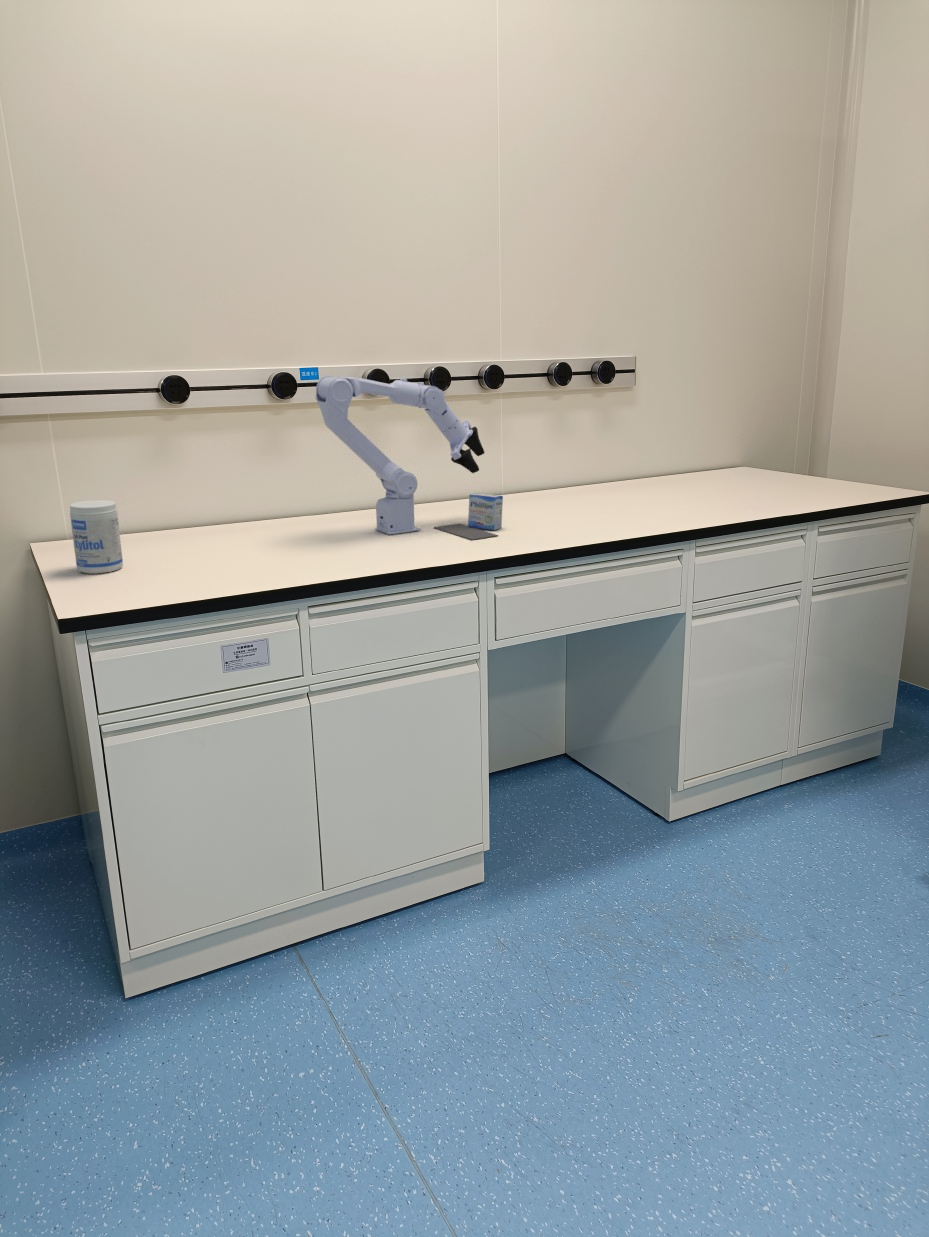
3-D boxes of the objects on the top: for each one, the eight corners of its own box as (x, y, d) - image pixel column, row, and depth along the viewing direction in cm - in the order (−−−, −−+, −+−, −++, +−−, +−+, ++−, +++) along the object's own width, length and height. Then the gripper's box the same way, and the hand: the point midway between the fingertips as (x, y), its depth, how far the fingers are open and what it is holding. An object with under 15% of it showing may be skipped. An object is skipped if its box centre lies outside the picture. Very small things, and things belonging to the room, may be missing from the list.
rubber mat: (471, 540, 221) (471, 539, 221) (433, 528, 235) (433, 527, 235) (498, 536, 225) (498, 535, 225) (459, 524, 239) (459, 523, 239)
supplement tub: (73, 576, 192) (63, 508, 188) (82, 565, 201) (72, 500, 197) (120, 573, 194) (111, 506, 190) (127, 562, 203) (119, 498, 198)
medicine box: (467, 527, 234) (468, 494, 232) (475, 524, 238) (476, 492, 236) (494, 530, 231) (495, 497, 228) (502, 528, 235) (503, 495, 232)
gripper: (455, 434, 225) (486, 473, 232) (467, 402, 235) (495, 441, 242) (434, 445, 229) (464, 483, 236) (446, 413, 238) (474, 451, 245)
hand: (478, 462), depth 239 cm, fingers open, 7 cm apart
